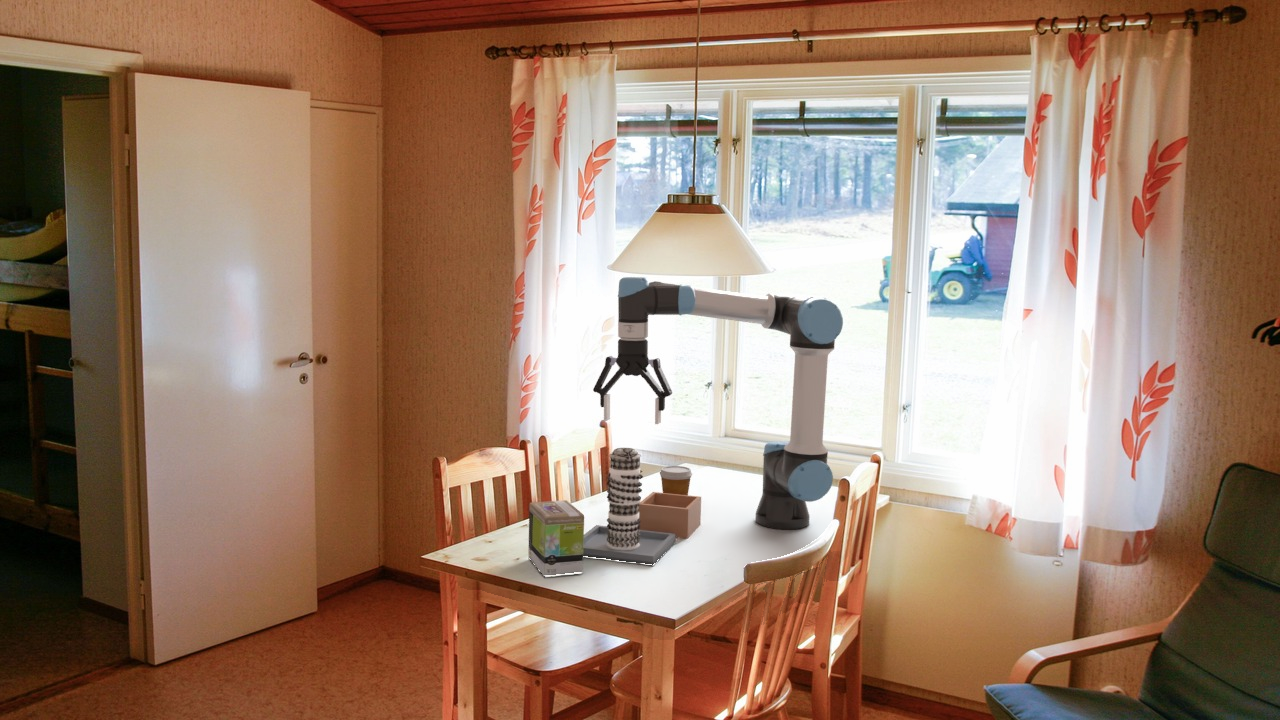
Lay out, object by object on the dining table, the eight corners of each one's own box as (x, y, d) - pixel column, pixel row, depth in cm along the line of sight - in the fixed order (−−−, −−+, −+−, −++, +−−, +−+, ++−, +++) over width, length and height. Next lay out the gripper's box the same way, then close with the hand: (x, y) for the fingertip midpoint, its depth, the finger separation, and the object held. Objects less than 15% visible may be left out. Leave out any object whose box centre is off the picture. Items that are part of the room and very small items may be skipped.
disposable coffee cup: (692, 505, 309) (693, 466, 308) (690, 514, 300) (691, 473, 298) (660, 504, 310) (661, 464, 309) (657, 512, 301) (658, 472, 299)
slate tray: (675, 543, 272) (675, 533, 272) (653, 566, 253) (653, 556, 253) (596, 534, 278) (596, 525, 278) (568, 555, 260) (569, 546, 259)
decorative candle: (646, 542, 268) (648, 447, 265) (633, 552, 260) (635, 454, 257) (613, 538, 272) (615, 444, 268) (599, 548, 263) (601, 451, 260)
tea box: (584, 575, 246) (585, 514, 244) (543, 579, 242) (543, 517, 240) (566, 556, 260) (567, 498, 258) (527, 559, 256) (527, 501, 254)
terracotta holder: (700, 524, 289) (701, 496, 288) (687, 538, 276) (688, 509, 275) (652, 519, 293) (653, 491, 292) (637, 533, 280) (637, 504, 279)
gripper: (581, 338, 262) (581, 421, 265) (677, 342, 255) (675, 427, 258) (591, 335, 269) (590, 416, 272) (684, 339, 262) (683, 421, 265)
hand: (632, 421), depth 265 cm, fingers open, 13 cm apart
